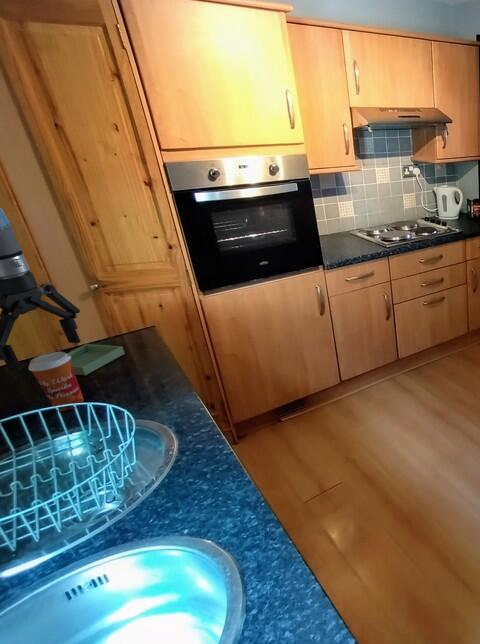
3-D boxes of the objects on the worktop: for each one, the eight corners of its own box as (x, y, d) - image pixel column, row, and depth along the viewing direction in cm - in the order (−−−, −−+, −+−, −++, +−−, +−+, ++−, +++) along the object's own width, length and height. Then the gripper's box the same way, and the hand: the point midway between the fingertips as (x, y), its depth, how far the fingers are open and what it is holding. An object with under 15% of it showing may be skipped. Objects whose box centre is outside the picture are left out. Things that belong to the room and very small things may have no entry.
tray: (47, 372, 132) (43, 364, 131) (89, 350, 143) (86, 343, 142) (85, 375, 130) (82, 367, 129) (125, 353, 142) (122, 346, 141)
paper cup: (48, 417, 113) (24, 369, 107) (50, 403, 118) (28, 357, 112) (89, 405, 117) (68, 359, 111) (90, 392, 123) (70, 347, 117)
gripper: (-47, 296, 91) (1, 384, 100) (77, 258, 114) (108, 333, 122) (-78, 294, 92) (-27, 382, 101) (51, 257, 115) (83, 331, 123)
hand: (47, 355), depth 111 cm, fingers open, 13 cm apart
